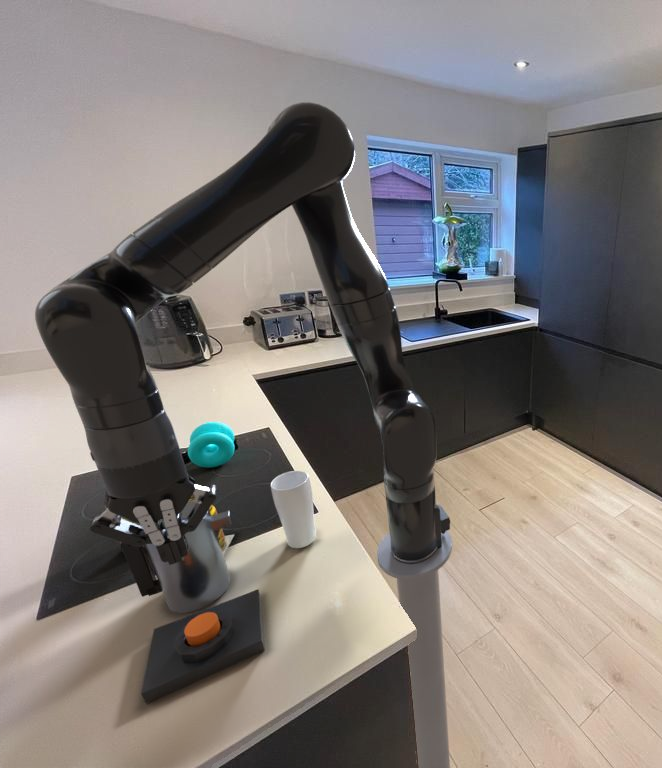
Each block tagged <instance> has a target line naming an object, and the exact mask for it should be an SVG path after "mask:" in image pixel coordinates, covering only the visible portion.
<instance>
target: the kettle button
mask: <svg viewBox="0 0 662 768" xmlns="http://www.w3.org/2000/svg"><path fill="white" fill-rule="evenodd" d="M220 627H221V626H220V623H219V620H218V617H217V615H216V614H215V613H213V612H207V613H203V614H201V615H199V616H197V617H195V618H194V619H192V620H191V621H190V622H189V623H188V624H187V626H186V627H185V630H184V634H185V636H186V639H187V641H188V644H189V645H191V646H200V645H202V644H205V643H207V642H209V641H210V640H211V639H213V638H214V637H215V636H216V635H217V634H218V633H219V631H220Z"/></svg>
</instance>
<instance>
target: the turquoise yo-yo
mask: <svg viewBox="0 0 662 768" xmlns="http://www.w3.org/2000/svg"><path fill="white" fill-rule="evenodd" d="M234 442H235V433H234V431H233V429H232V428H231V427H230V426H229V425H227V424H226V423H222V422H219V421H209V422H205V423H202V424H200V425H198V426H197V427H195V428H194V430H193V431H192V432H191V434H190V437H189V444H188V447H187V456H188V458H189V460H190V461H191V462H192V463H193V464H195V465H196V466H198V467H200V468H201V467H202V468H217V467H220V466H222V465H224V464H226V463H227V462H229V461H230V460H231V459H232V457H233V455H234V453H235V443H234Z"/></svg>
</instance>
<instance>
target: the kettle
mask: <svg viewBox="0 0 662 768" xmlns="http://www.w3.org/2000/svg"><path fill="white" fill-rule="evenodd" d="M195 504H196V503H195V501H189V502H187V504H186V506H185V507H184V509H183V510H182V511H181V519H182V521H183V520H185V519H186V518H187V516H188V515H189V513H190V512H191V510H192V509H193V507H194V506H195ZM162 520H163V522H164V519H162ZM232 520H233V519H232V515H231V513H230V510H227V511H223V512H219V513H218V514H216V515H212V516H211V513H210V510H208V511H207V513H206V514H205V516H204V517H203V519H202V520H201V522H200V523H199V525H198V526H197V528H196V529H195V530H194V531H192V532H187V533H186V534H185V536H186V539H187V542H188V545H189V548H188V554H187V556H184V560H183V561H181V562H178V563H174V564H171V565H169V563H168V562H165V563H164V562H163V561H161V558H160V556H159V553H158V551H157V548H156V546H155V545H153V544H145V545H144V547H145V549H146V552H145V549H144V547H143V546H142V547H134V546H131V545H129V544H126V543H123V542H121V543H120V544H119V546H120V549H121V551H122V553H123V555H124V557H125V560H126V563H127V565H128V567H129V570H130V572H131V574H132V576H133V579H134V582H135V583H136V585H137V589H138V590H139V592H140V595H141V597H142V598H143V597H146V596H148V597H151V596H154V595H156V594H157V595H158V594H159V593H162V595H163V596H164V600H165V602H166V604H167V606H168V609H169V610H170V611H172V612H174V613H176V614H177V613H178V614H187V613H192V612H195V611H198V610H201V609H203V608H205V607H208V606H209V605H211V604H212V603H214V602H215V601H217V600H218V599H219V598H221V596H222V595H223V594H224V593H225V592H226V591H227V590H228V588H229V586H230V584H231V581H232V579H231V574H230V572H229V568H228V565H227V562H226V559H225V554H223V552H222V549H221V546H220V542H219V539H218V536H217V533H216V530H218V529H222V530H223V529H225V528H229V527H231V526H232V524H233V521H232ZM164 524H165V522H164ZM167 532H168V531H167Z"/></svg>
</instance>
